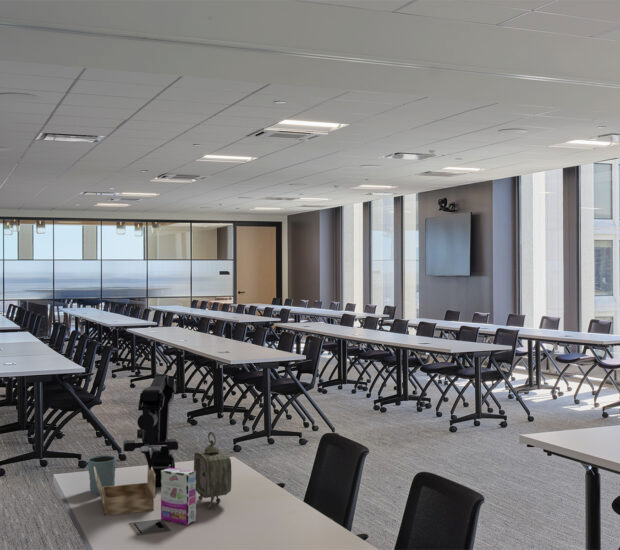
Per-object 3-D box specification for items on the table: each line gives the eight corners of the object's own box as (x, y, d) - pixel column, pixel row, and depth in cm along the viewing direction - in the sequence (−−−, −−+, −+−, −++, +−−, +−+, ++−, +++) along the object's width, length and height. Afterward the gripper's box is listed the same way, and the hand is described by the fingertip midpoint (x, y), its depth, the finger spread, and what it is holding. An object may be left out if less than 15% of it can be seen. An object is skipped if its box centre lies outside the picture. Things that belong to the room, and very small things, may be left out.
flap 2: (154, 474, 251) (155, 474, 251) (147, 461, 269) (149, 461, 269) (153, 498, 251) (155, 498, 251) (147, 483, 269) (148, 482, 269)
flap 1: (94, 466, 263) (93, 466, 263) (97, 480, 245) (95, 481, 245) (101, 487, 264) (100, 487, 264) (104, 503, 246) (103, 503, 246)
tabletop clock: (193, 499, 262) (193, 429, 262) (217, 496, 266) (217, 427, 266) (207, 511, 249) (207, 437, 249) (232, 507, 254) (232, 434, 253)
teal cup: (111, 495, 268) (111, 462, 268) (83, 494, 268) (83, 461, 268) (119, 486, 278) (119, 455, 278) (92, 486, 278) (92, 455, 278)
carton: (147, 493, 269) (147, 482, 269) (153, 510, 250) (153, 498, 250) (101, 498, 264) (101, 486, 264) (104, 515, 245) (104, 503, 245)
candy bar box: (197, 521, 240) (197, 470, 240) (187, 526, 235) (187, 474, 235) (169, 515, 245) (169, 466, 245) (160, 520, 241) (160, 470, 240)
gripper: (175, 420, 271) (173, 463, 270) (122, 421, 265) (121, 465, 265) (179, 426, 260) (177, 470, 260) (124, 427, 254) (123, 473, 254)
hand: (149, 469), depth 260 cm, fingers closed
